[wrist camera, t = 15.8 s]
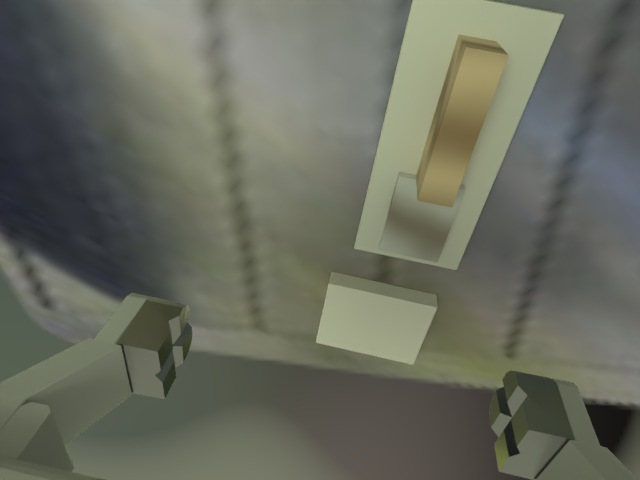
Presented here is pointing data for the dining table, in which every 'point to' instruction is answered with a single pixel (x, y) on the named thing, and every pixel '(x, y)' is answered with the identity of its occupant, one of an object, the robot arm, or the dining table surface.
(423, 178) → the wooden handled scraper
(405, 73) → the tool rest
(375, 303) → the tile
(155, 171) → the dining table surface
